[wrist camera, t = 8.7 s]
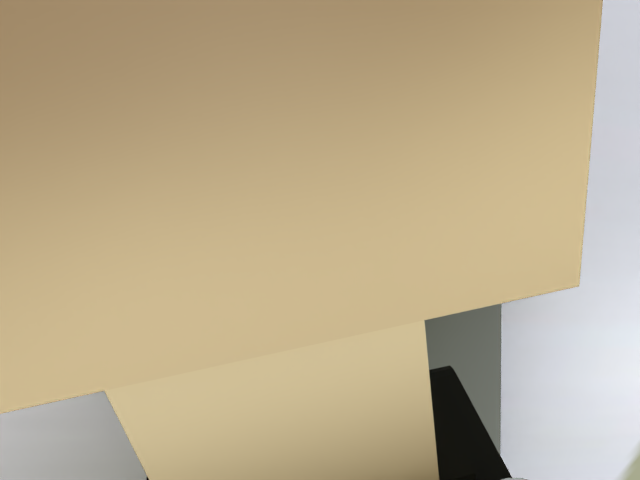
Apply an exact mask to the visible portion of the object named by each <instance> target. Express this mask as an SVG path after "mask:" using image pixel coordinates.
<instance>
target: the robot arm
mask: <svg viewBox="0 0 640 480" xmlns="http://www.w3.org/2000/svg"><path fill="white" fill-rule="evenodd" d="M429 375H430V386H431V397H432V408H433V419H434V429H435V440H436V451H437V462H438V473H439V480H527V479H523V478H512V477H511V475H510V473H509V471H508V469H507V468H506V466H505V464H504V462H503V460H502V458H501V456H500V454H499V453H498V451H497V449H496V447H495V445H494V443H493V441H492V439H491V438H490V436H489V434H488V432H487V430H486V428H485V426H484V425H483V423H482V421H481V419H480V417H479V415H478V413H477V411H476V410H475V408H474V406H473V404H472V402H471V400H470V398H469V396H468V395H467V393H466V391H465V389H464V387H463V385H462V383H461V382H460V380H459V378H458V376H457V374H456V372H455V371H454V369H453V368H452V367H451V366H450V365H449V366H445V367H440V368H436V369H431V370H429ZM147 480H149V479H148V477H147Z"/></svg>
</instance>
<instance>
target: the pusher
mask: <svg viewBox="0 0 640 480" xmlns="http://www.w3.org/2000/svg"><path fill="white" fill-rule="evenodd" d="M602 3H603V0H0V414H1V413H6V412H10V411H15V410H19V409H24V408H28V407H33V406H38V405H42V404H47V403H51V402H56V401H60V400H65V399H69V398H74V397H78V396H83V395H88V394H92V393H97V392H101V391H105V393H106V395H107V397H108V399H109V401H110V403H111V405H112V407H113V409H114V411H115V413H116V415H117V417H118V419H119V421H120V423H121V425H122V427H123V429H124V431H125V433H126V435H127V437H128V439H129V441H130V443H131V445H132V447H133V449H134V451H135V453H136V455H137V457H138V459H139V461H140V463H141V465H142V467H143V469H144V471H145V473H146V475H147V477H148V479H149V480H439V473H438V462H437V451H436V440H435V429H434V419H433V408H432V397H431V386H430V375H429V365H428V354H427V343H426V332H425V321H424V320H428V319H433V318H437V317H442V316H446V315H451V314H455V313H460V312H464V311H469V310H473V309H478V308H482V307H487V306H492V305H496V304H501V303H505V302H510V301H514V300H519V299H523V298H528V297H532V296H537V295H541V294H546V293H551V292H555V291H560V290H564V289H569V288H573V287H578V286H579V281H580V269H581V257H582V245H583V233H584V221H585V209H586V197H587V185H588V173H589V161H590V148H591V136H592V124H593V112H594V100H595V88H596V76H597V64H598V52H599V40H600V28H601V15H602Z"/></svg>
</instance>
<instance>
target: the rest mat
mask: <svg viewBox="0 0 640 480" xmlns="http://www.w3.org/2000/svg"><path fill="white" fill-rule="evenodd" d="M424 321H425V332H426V343H427V354H428V365H429V370H431V369H436V368H440V367H445V366H449V365H450V366H451V367H452V368H453V369H454V371H455V372H456V374H457V376H458V378H459V380H460V382H461V383H462V385H463V387H464V389H465V391H466V393H467V395H468V396H469V398H470V400H471V402H472V404H473V406H474V408H475V410H476V411H477V413H478V415H479V417H480V419H481V421H482V423H483V425H484V426H485V428H486V430H487V432H488V434H489V436H490V438H491V439H492V441H493V443H494V445H495V447H496V449H497V451H498V453H499V454H500V407H501V304H496V305H492V306H487V307H482V308H478V309H473V310H469V311H464V312H460V313H455V314H451V315H446V316H442V317H437V318H433V319H428V320H424Z"/></svg>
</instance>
